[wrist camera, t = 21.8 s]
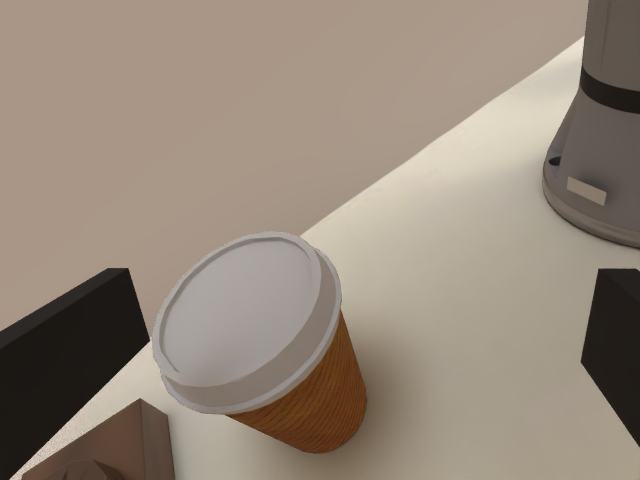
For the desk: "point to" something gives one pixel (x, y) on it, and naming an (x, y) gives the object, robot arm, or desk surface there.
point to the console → (115, 450)
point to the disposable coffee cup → (263, 342)
